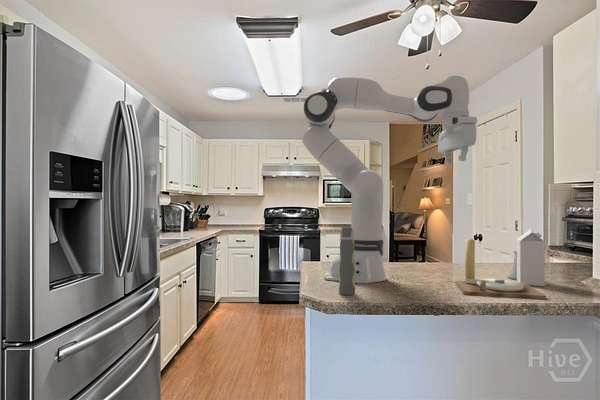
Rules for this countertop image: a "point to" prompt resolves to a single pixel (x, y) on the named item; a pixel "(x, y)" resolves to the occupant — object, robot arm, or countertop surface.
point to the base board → (482, 291)
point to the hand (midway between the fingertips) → (455, 162)
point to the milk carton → (531, 259)
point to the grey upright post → (347, 262)
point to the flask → (513, 268)
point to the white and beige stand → (490, 283)
